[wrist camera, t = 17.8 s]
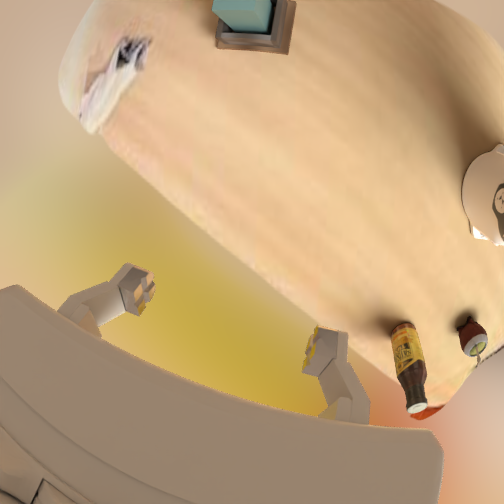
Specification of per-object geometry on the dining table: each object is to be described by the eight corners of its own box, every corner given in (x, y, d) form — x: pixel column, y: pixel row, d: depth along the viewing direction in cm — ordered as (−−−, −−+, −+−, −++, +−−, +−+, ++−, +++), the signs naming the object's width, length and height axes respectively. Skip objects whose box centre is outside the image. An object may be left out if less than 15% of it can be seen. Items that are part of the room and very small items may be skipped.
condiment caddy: (296, 3, 28) (293, -10, 23) (288, 54, 33) (284, 46, 28) (228, 0, 29) (217, -12, 24) (219, 49, 34) (206, 41, 29)
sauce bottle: (400, 318, 50) (418, 395, 33) (420, 325, 50) (442, 398, 33) (384, 338, 54) (395, 414, 36) (404, 344, 53) (418, 417, 36)
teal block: (274, 11, 29) (260, -21, 18) (270, 37, 31) (253, 10, 21) (243, 9, 29) (218, -21, 19) (238, 34, 32) (211, 10, 21)
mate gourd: (475, 332, 48) (494, 377, 35) (449, 339, 50) (466, 387, 37) (481, 310, 45) (505, 355, 32) (455, 317, 47) (476, 366, 34)
